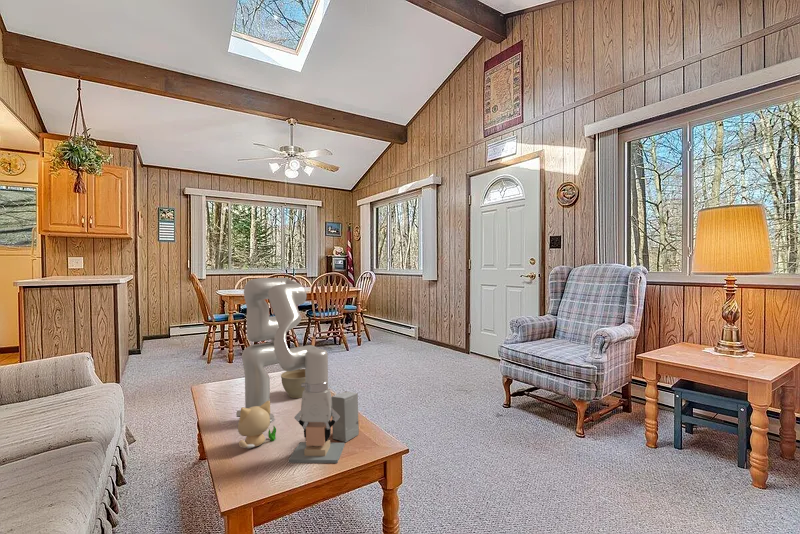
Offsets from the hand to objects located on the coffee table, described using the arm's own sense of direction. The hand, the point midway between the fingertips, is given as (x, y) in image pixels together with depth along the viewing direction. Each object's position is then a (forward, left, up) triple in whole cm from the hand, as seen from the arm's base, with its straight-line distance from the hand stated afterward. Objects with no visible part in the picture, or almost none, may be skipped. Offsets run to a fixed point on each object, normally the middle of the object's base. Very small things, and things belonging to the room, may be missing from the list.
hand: (317, 438), depth 128 cm
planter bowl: (-25, +57, -5) cm, 63 cm away
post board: (0, 0, -5) cm, 5 cm away
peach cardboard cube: (0, 0, -1) cm, 1 cm away
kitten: (-24, +6, -5) cm, 25 cm away
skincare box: (+7, +13, -5) cm, 16 cm away
